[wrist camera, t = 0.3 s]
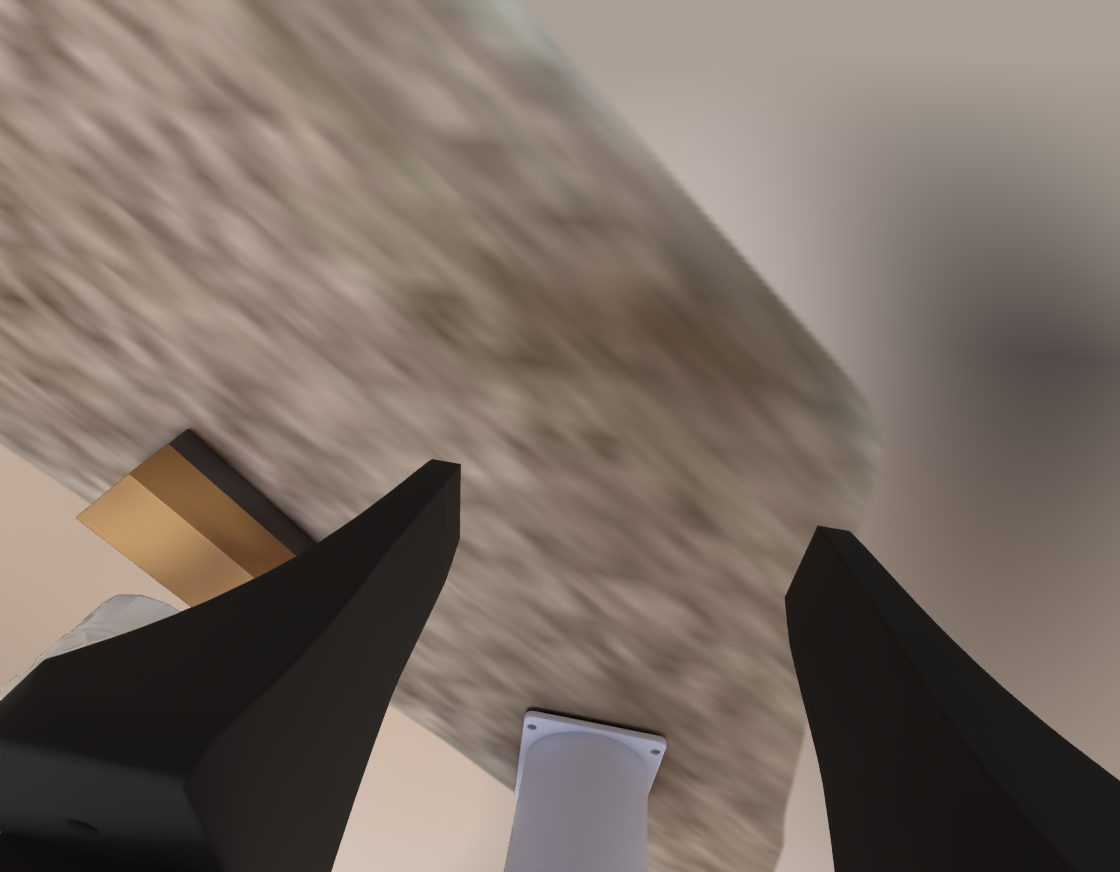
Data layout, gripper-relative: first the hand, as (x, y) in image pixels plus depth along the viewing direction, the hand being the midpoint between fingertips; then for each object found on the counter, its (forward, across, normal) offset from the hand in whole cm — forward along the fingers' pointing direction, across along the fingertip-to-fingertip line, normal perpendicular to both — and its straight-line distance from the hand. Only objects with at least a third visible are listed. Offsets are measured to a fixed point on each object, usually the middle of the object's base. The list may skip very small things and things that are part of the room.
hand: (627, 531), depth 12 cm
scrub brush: (+10, +16, +13) cm, 23 cm away
